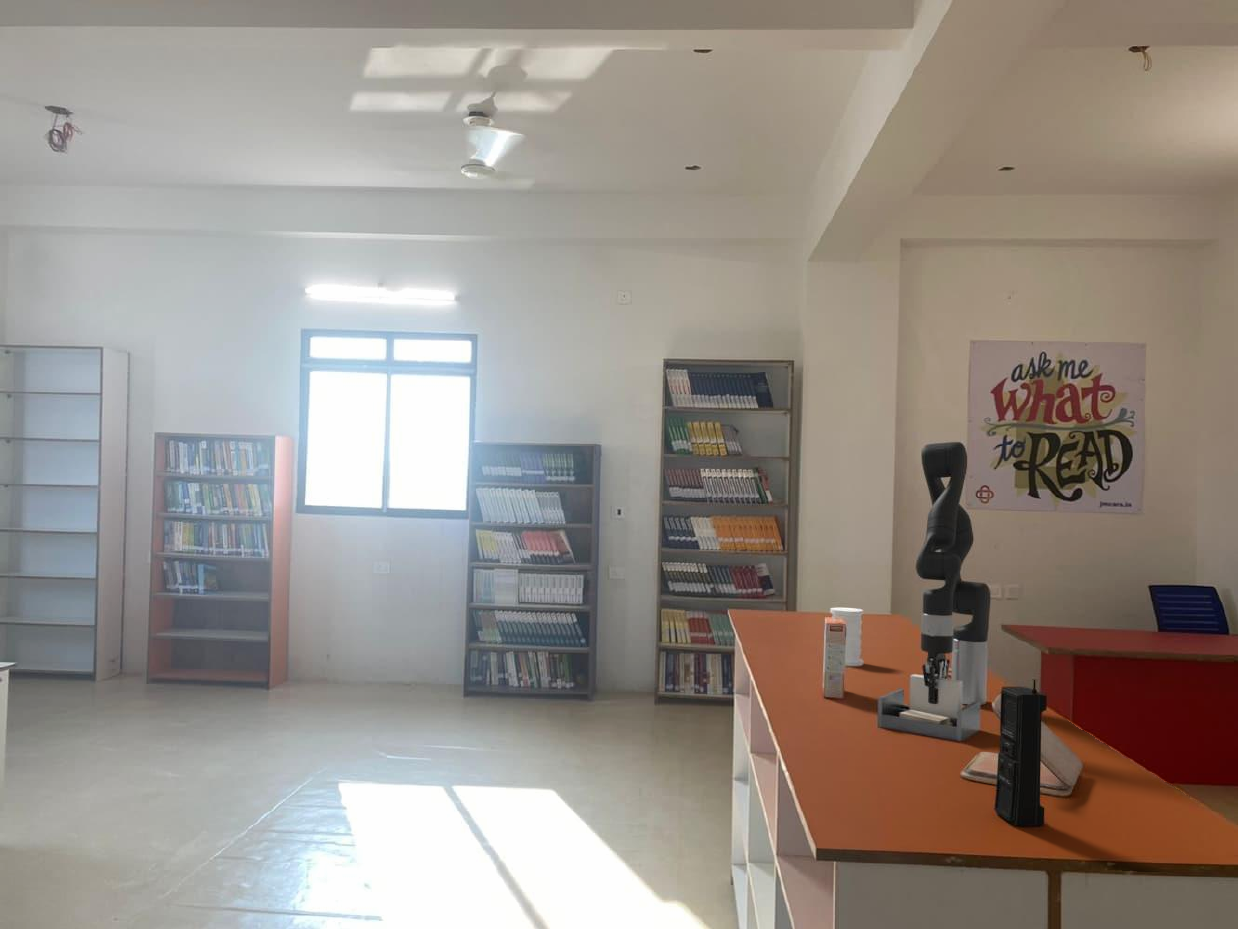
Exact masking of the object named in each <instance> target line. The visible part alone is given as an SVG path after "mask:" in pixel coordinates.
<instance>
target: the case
mask: <svg viewBox="0 0 1238 929" xmlns="http://www.w3.org/2000/svg"><path fill="white" fill-rule="evenodd" d="M991 706H992V711H993V712H994V714H995V716H996V718H998V719H999V720H1000V712H1001V693H1000V694H998V695H997V696H996V697H995V698H994V700H993V701H992V703H991ZM998 754H999V753H997V752H990V751H980V752H979V753H978V754H975V756H974V757H973V758H972V760H970V762H969V763H968V764H967V765H966V766H965V767H964V768H963V769H962V770H961V771H960V773H959V774H960V777H962V778H963V779H964V780H967V781H973V782H978V783H983V784H988V785H993V786H996V785H997V768H998ZM1083 767H1084V766H1083V762H1082V760H1081V759H1080V758H1079V756H1077V754H1076V753H1075V752H1074V751H1073V750H1071V748H1069V747H1068V745H1067V744H1066V743H1064V742H1063V741H1062V740H1061V738H1059V737H1058V736H1057V735H1056V734H1055V733H1054V732H1053V731H1052V730H1051V729H1050V727H1048V726H1047V725H1046V724H1045V723H1044V722H1043V721H1042V720H1041V768H1040V795H1041V794H1042V795H1047V796H1052V797H1060V798H1061V797H1062V798H1063V797H1070V796H1071V794H1072V791H1073V789H1074V787H1075V785H1076V783H1077V780H1078V778H1079V775H1080V773H1081V771H1082V769H1083Z"/></svg>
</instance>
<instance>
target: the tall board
mask: <svg viewBox="0 0 1238 929" xmlns="http://www.w3.org/2000/svg"><path fill="white" fill-rule="evenodd" d="M931 682H932V680H931ZM962 686H963V681H958V680H951V678H947V679H944V678H941V679H940V680H939V687H938V703H937V704H931V703H929V702H928V691H929V688H928V687H927V686H925V682H924V675H923V674H917V673H915V674H911V675H910V676H909V702H908V703H909V705H908V706H909V710H915V711H920V712H924V713H929V714H934V715H940V716H946V717H952V718H957V710H959V709H961V708H963V704H962Z"/></svg>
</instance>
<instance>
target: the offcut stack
mask: <svg viewBox="0 0 1238 929" xmlns="http://www.w3.org/2000/svg"><path fill="white" fill-rule="evenodd" d="M900 717H902V718H908V719H914V720H919V721H925V722H931V723H937V724H942V725H948V726H952V723H950V718H949V717H944V716H939V715H934V714H929V713H924V712H920V711H915V710H908V711H905V712H901V713H900Z"/></svg>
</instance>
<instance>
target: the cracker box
mask: <svg viewBox="0 0 1238 929" xmlns="http://www.w3.org/2000/svg"><path fill="white" fill-rule="evenodd" d="M823 636H824V637H823V640H824V641H823V663H822V664H823V665H822V666H823V667H822V668H823V669H822V693H823V694H822V695H823V698H825V699H826V698H827V699H836V700H844V698H845V676H846V675H845V672H846V666H845V652H846V622H845V619H844V618H835V617H832V616H831V617H830V616H829V617H828V616H827V617H824V634H823Z"/></svg>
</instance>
